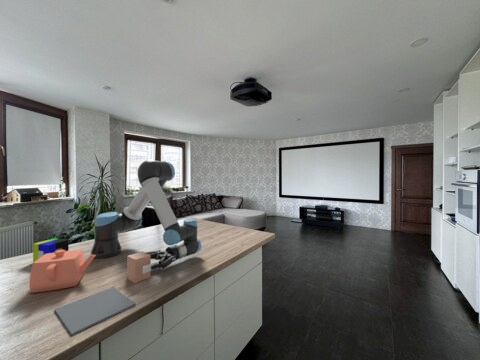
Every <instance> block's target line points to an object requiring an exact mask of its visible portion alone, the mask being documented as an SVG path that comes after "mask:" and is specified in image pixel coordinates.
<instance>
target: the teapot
mask: <svg viewBox="0 0 480 360" xmlns="http://www.w3.org/2000/svg"><path fill="white" fill-rule="evenodd" d="M95 256H96V255H91V254H90V255H89V256H88V257H87V259H85V254H84V250H83V249H80V250H79V249H78V250H68V251H65V250H58V251H55V252H54V253H47V254H45V255H43V256H42V257H40V258H39V259H38V260H36V261H35V262H34V263H33V262H32V265H31V269H30V275H29V286H28V287H29V292H30V293H31V294H33V293H34V294H35V293H36V294H37V293H43V292H49V291H57V290H63V289H67V288H74V287H77V286H78V284H79V283H80V281H81V279H82V278H83V276H84V274H85V271H86V269H87V268H88V267H89V265H90V264H91V263H92V261H93V260H94V259H95V258H94V257H95Z"/></svg>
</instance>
